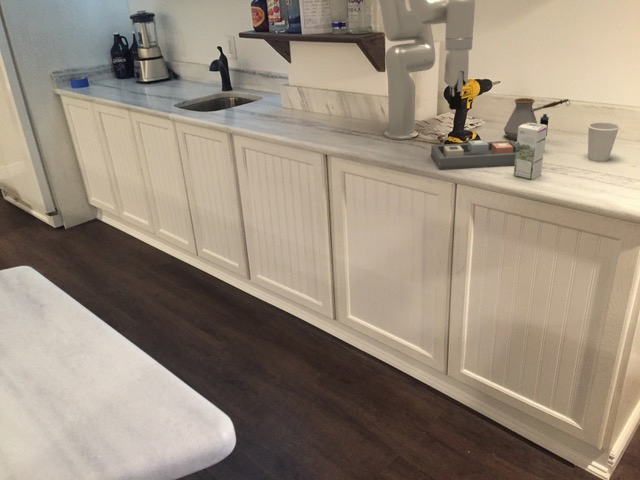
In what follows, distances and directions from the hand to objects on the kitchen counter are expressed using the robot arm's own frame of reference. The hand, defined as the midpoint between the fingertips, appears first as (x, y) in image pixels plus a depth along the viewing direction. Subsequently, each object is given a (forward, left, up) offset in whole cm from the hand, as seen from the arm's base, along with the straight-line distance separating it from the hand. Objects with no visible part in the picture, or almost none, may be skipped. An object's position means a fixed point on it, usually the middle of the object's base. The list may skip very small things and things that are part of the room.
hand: (454, 108), depth 161 cm
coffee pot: (-17, +31, -17) cm, 39 cm away
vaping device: (-5, +28, -17) cm, 33 cm away
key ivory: (0, 0, -14) cm, 15 cm away
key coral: (0, +15, -15) cm, 21 cm away
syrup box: (+16, +18, -17) cm, 29 cm away
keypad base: (0, +8, -16) cm, 18 cm away
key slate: (0, +8, -13) cm, 15 cm away
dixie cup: (+5, +43, -17) cm, 46 cm away
